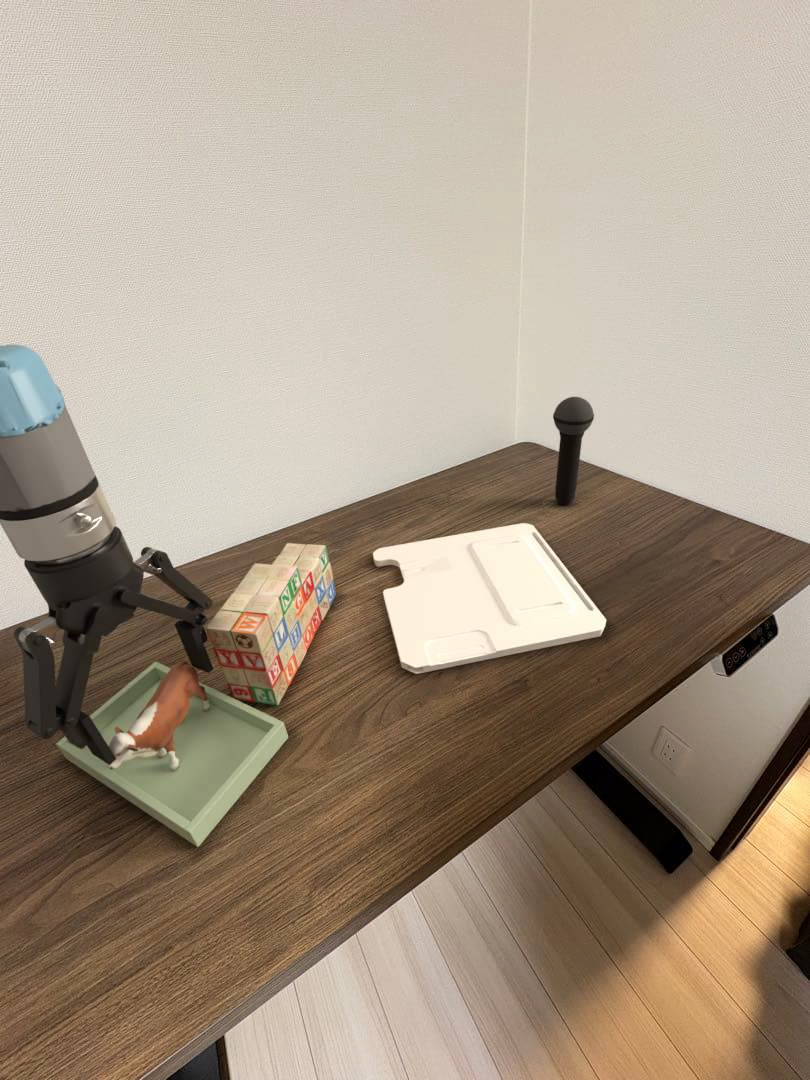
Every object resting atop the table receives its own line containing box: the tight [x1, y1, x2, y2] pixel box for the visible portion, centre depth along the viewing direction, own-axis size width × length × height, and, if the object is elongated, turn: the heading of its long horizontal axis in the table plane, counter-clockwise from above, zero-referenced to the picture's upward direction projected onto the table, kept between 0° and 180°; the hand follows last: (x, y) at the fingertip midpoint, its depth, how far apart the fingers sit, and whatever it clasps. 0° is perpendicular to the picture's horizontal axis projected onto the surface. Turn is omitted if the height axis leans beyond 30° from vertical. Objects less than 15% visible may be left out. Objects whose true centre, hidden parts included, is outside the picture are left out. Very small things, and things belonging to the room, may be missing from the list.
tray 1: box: [55, 661, 289, 848], centre depth 60 cm, size 22×14×3 cm, turn 61°
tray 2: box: [372, 522, 607, 675], centre depth 79 cm, size 28×28×2 cm
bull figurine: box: [106, 660, 210, 772], centre depth 58 cm, size 4×13×8 cm, turn 166°
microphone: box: [552, 396, 595, 506], centre depth 93 cm, size 7×7×20 cm
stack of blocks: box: [205, 542, 337, 707], centre depth 70 cm, size 21×6×12 cm, turn 167°
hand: (157, 708), depth 57 cm, fingers closed on bull figurine, 12 cm apart
